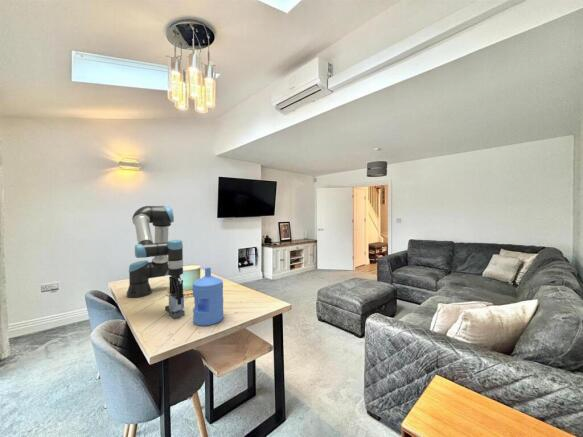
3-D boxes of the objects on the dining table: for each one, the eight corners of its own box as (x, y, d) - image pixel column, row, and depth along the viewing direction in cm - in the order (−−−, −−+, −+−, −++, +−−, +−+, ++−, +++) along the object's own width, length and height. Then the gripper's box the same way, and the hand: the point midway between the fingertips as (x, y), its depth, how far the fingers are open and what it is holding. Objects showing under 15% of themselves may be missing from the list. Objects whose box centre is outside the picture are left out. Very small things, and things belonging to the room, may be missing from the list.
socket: (168, 308, 136) (168, 294, 136) (179, 305, 141) (179, 292, 141) (173, 311, 132) (172, 297, 132) (184, 308, 137) (183, 294, 136)
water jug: (215, 311, 143) (214, 264, 142) (228, 319, 131) (228, 268, 130) (188, 319, 132) (187, 268, 131) (200, 329, 120) (199, 273, 120)
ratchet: (162, 310, 144) (162, 297, 144) (173, 307, 148) (172, 294, 148) (173, 319, 132) (173, 304, 132) (184, 315, 136) (184, 301, 136)
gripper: (162, 266, 140) (163, 305, 140) (175, 271, 127) (176, 315, 127) (175, 264, 145) (176, 302, 146) (189, 269, 132) (190, 310, 133)
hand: (176, 308), depth 137 cm, fingers closed on socket, 6 cm apart
